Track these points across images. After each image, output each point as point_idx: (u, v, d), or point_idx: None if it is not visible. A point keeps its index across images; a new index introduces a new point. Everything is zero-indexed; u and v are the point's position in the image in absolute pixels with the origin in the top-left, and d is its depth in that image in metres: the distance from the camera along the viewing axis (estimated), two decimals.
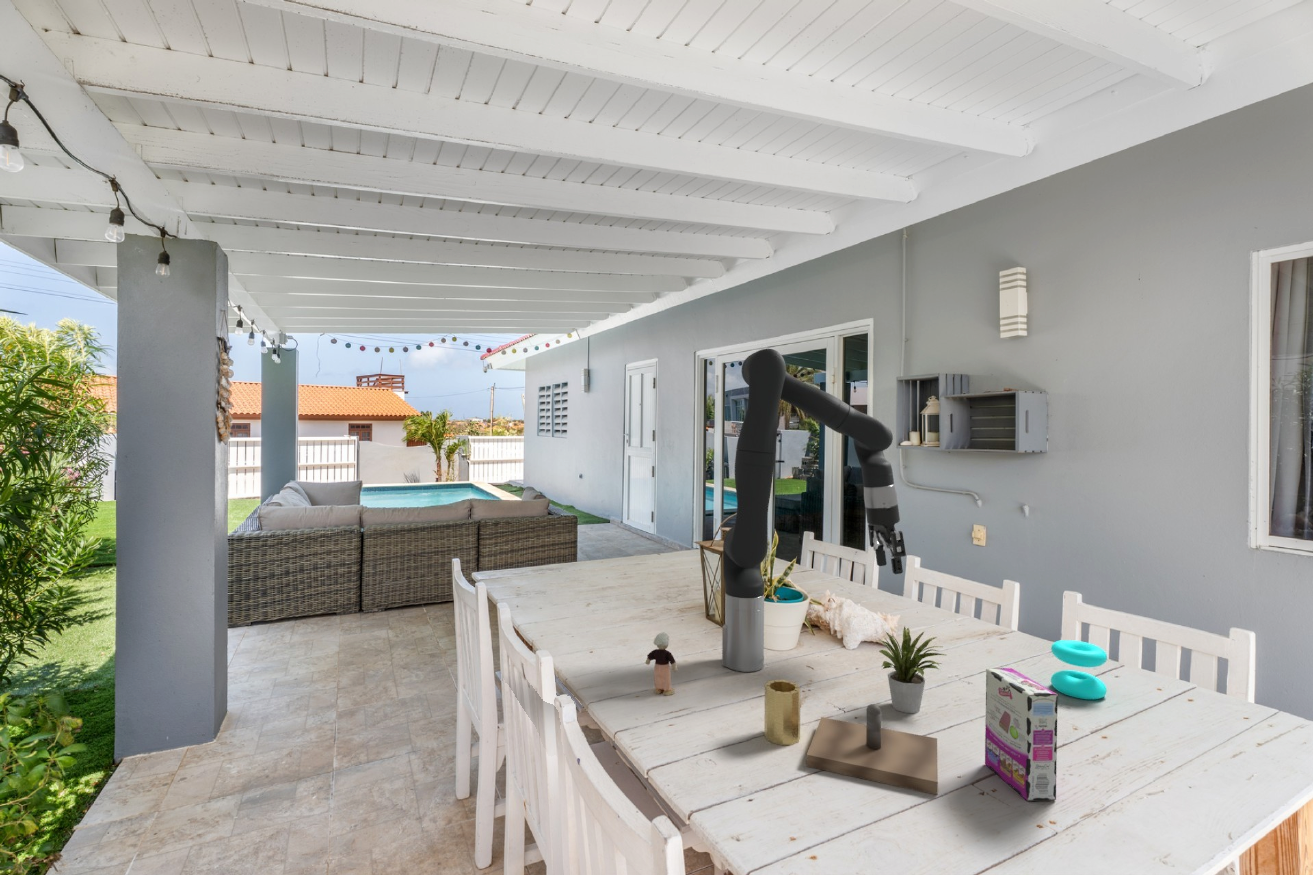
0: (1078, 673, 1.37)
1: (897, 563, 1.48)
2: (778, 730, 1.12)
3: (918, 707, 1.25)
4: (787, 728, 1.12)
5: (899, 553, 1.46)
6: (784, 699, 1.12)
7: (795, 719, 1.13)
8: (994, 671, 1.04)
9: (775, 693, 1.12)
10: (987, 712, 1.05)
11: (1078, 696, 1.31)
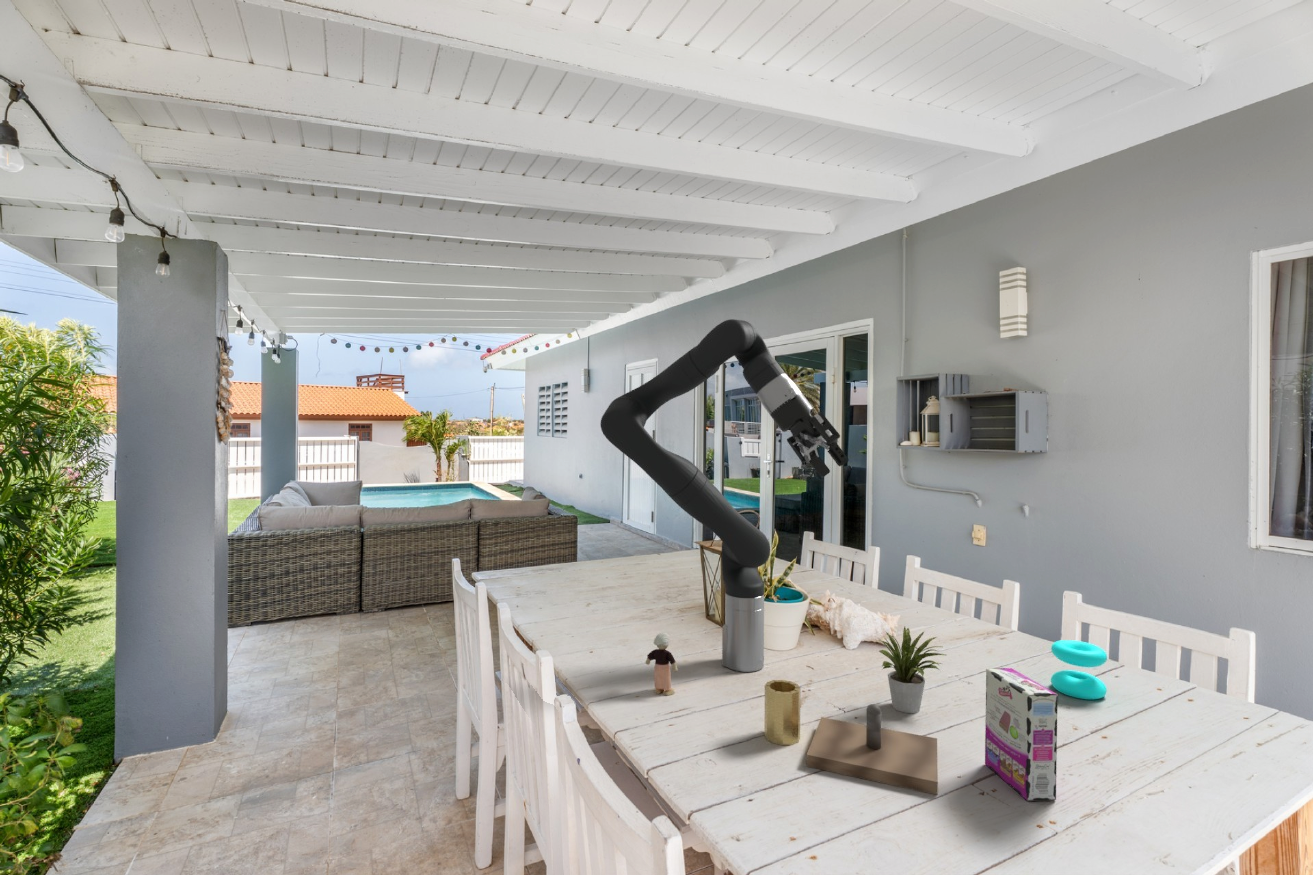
0: (1078, 673, 1.37)
1: (837, 451, 1.16)
2: (778, 730, 1.12)
3: (918, 707, 1.25)
4: (787, 728, 1.12)
5: (831, 436, 1.15)
6: (784, 699, 1.12)
7: (795, 719, 1.13)
8: (994, 671, 1.04)
9: (775, 693, 1.12)
10: (987, 712, 1.05)
11: (1078, 696, 1.31)
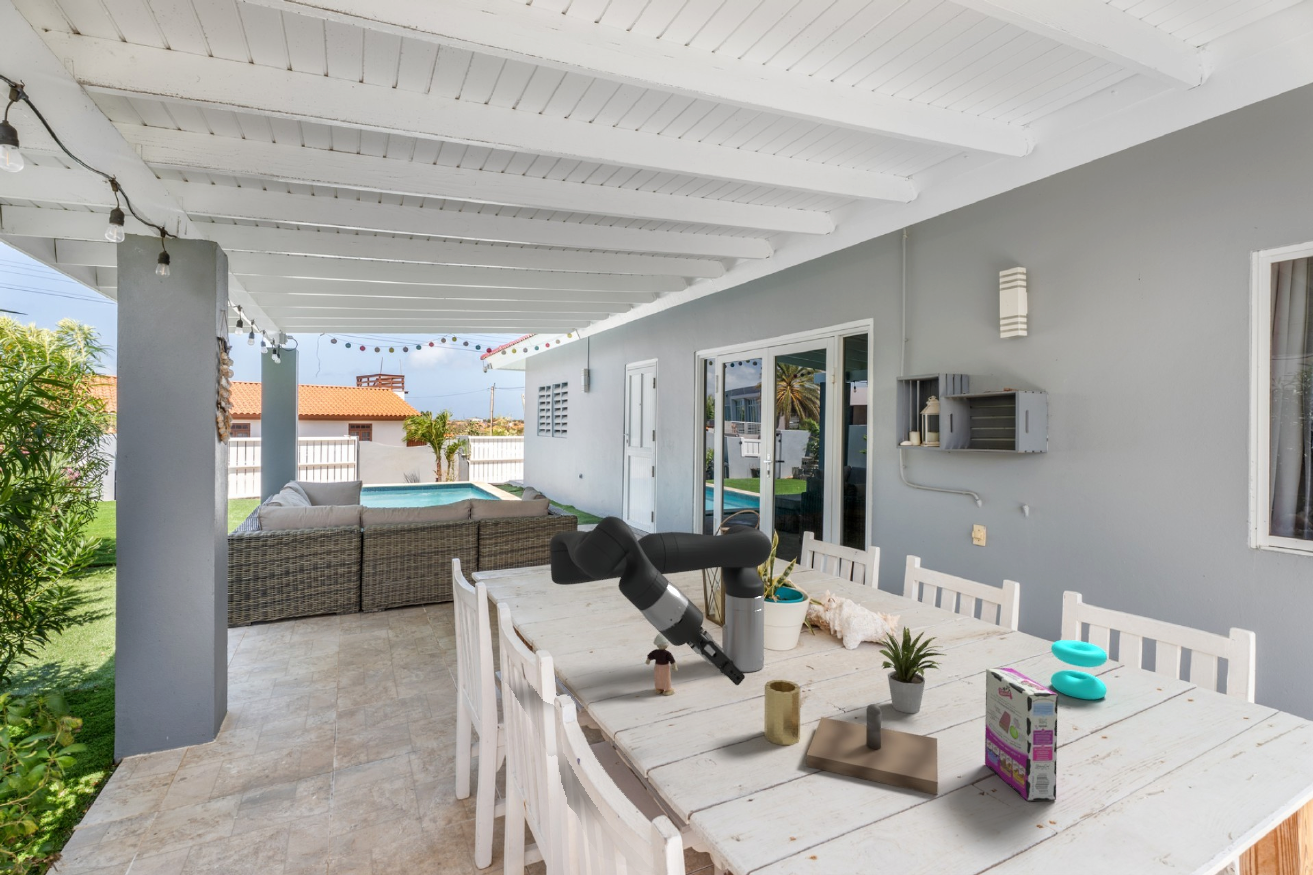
0: (1078, 673, 1.37)
1: (732, 674, 1.06)
2: (778, 730, 1.12)
3: (918, 707, 1.25)
4: (787, 728, 1.12)
5: (725, 667, 1.04)
6: (784, 699, 1.12)
7: (795, 719, 1.13)
8: (994, 671, 1.04)
9: (775, 693, 1.12)
10: (987, 712, 1.05)
11: (1078, 696, 1.31)
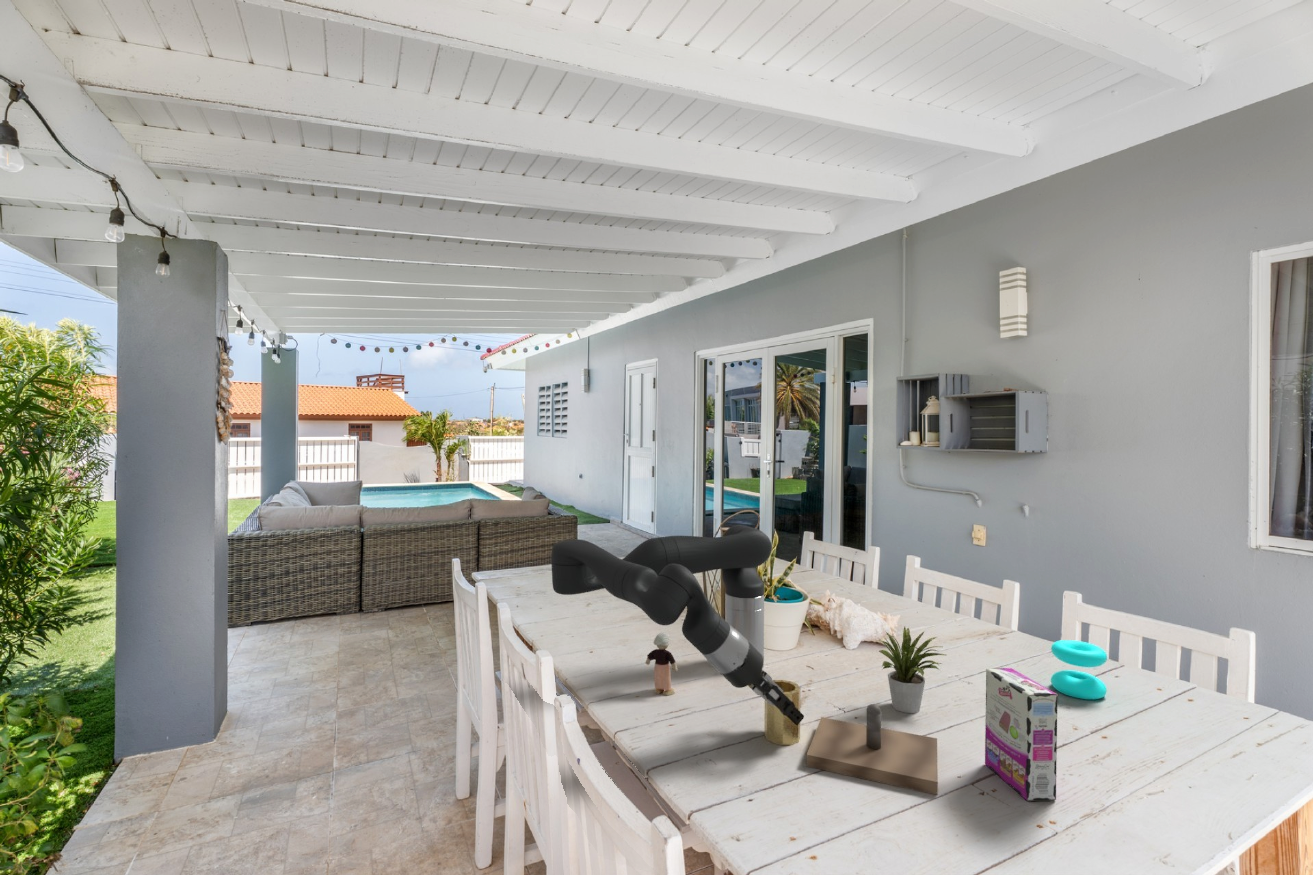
0: (1078, 673, 1.37)
1: (792, 714, 1.11)
2: (778, 730, 1.12)
3: (918, 707, 1.25)
4: (787, 728, 1.12)
5: (787, 709, 1.09)
6: None
7: None
8: (994, 671, 1.04)
9: None
10: (987, 712, 1.05)
11: (1078, 696, 1.31)
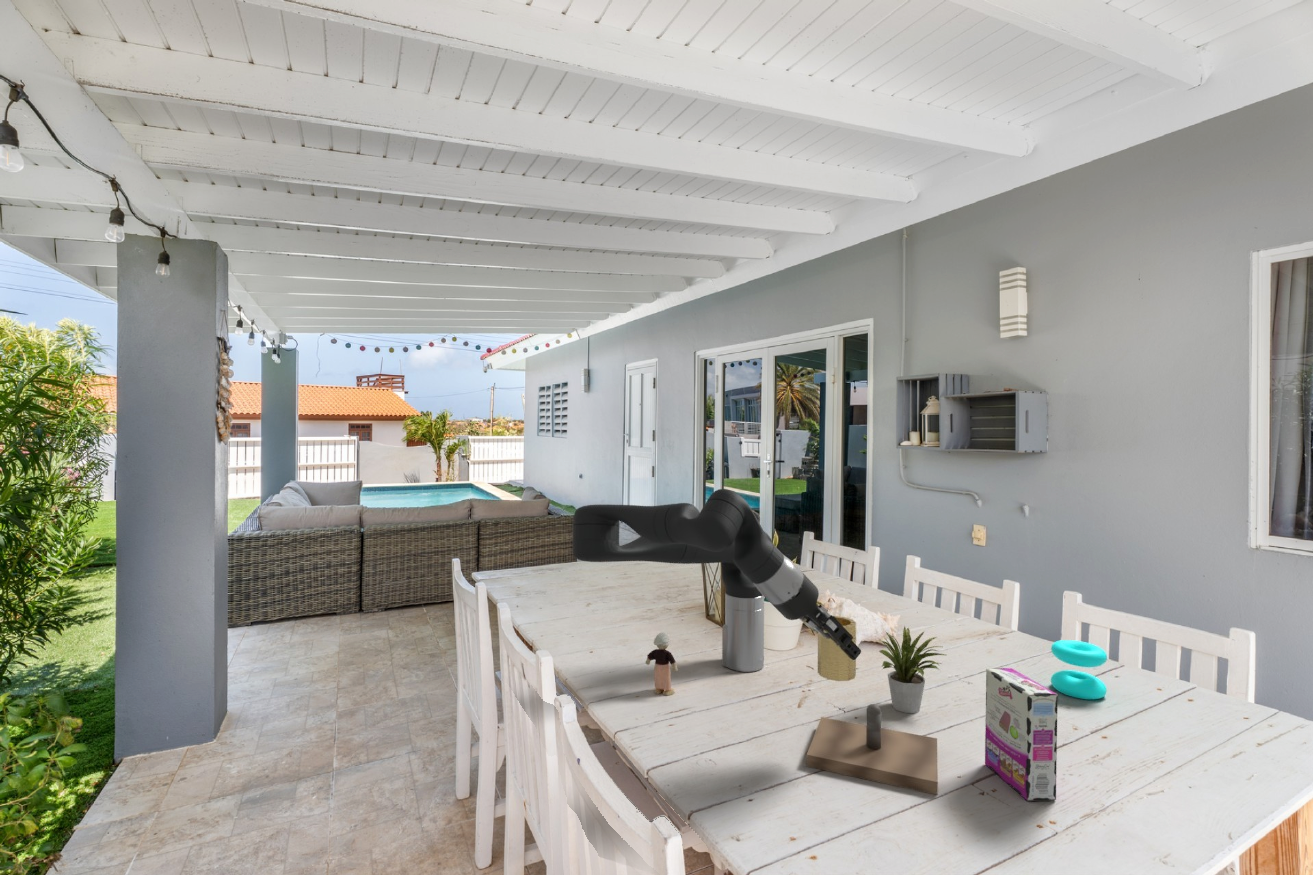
0: (1078, 673, 1.37)
1: (849, 648, 1.05)
2: (833, 665, 1.07)
3: (918, 707, 1.25)
4: (843, 663, 1.06)
5: (845, 641, 1.03)
6: None
7: None
8: (994, 671, 1.04)
9: None
10: (987, 712, 1.05)
11: (1078, 696, 1.31)
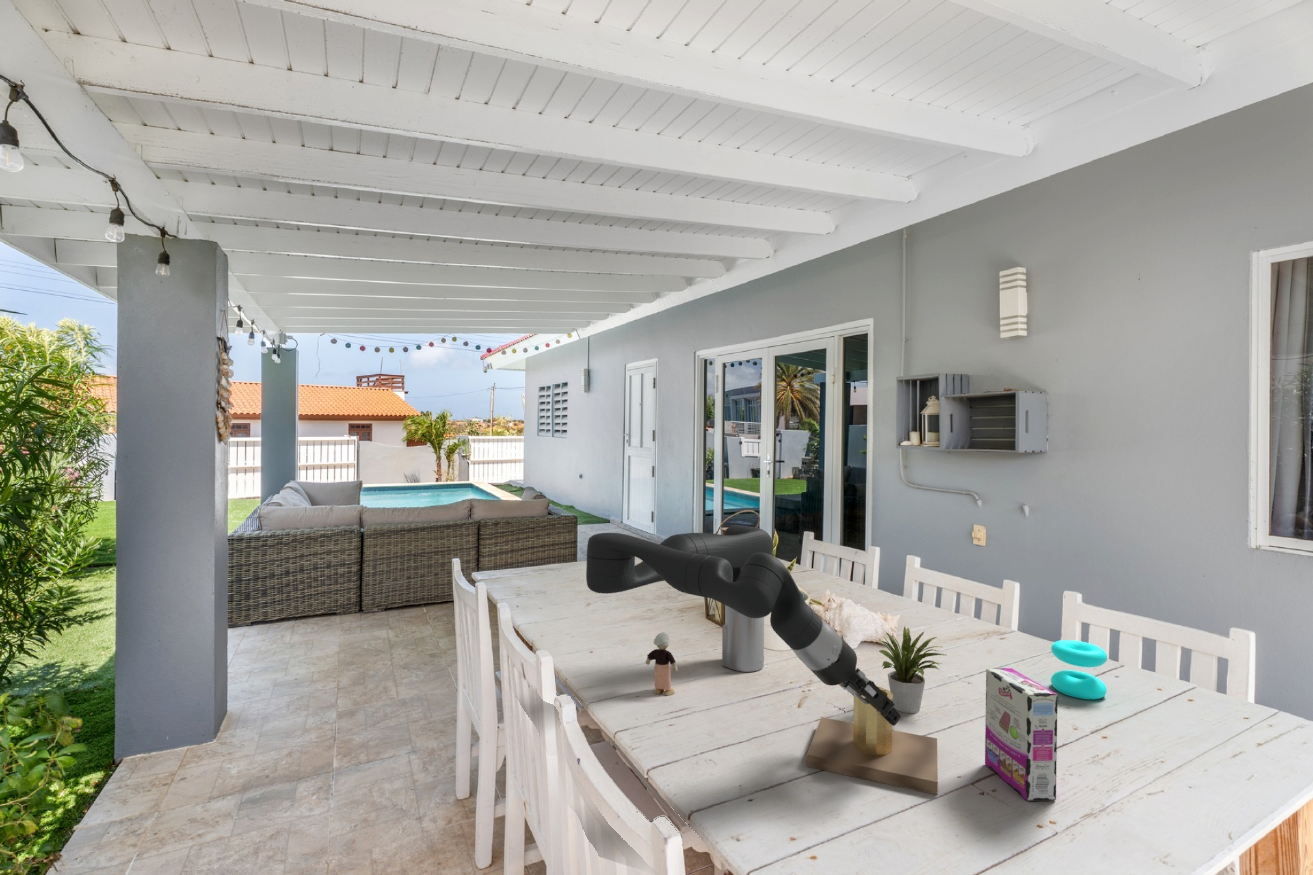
0: (1078, 673, 1.37)
1: (890, 714, 1.02)
2: (871, 739, 1.05)
3: (918, 707, 1.25)
4: (881, 737, 1.05)
5: (886, 708, 1.00)
6: None
7: (889, 728, 1.05)
8: (994, 671, 1.04)
9: None
10: (987, 712, 1.05)
11: (1078, 696, 1.31)
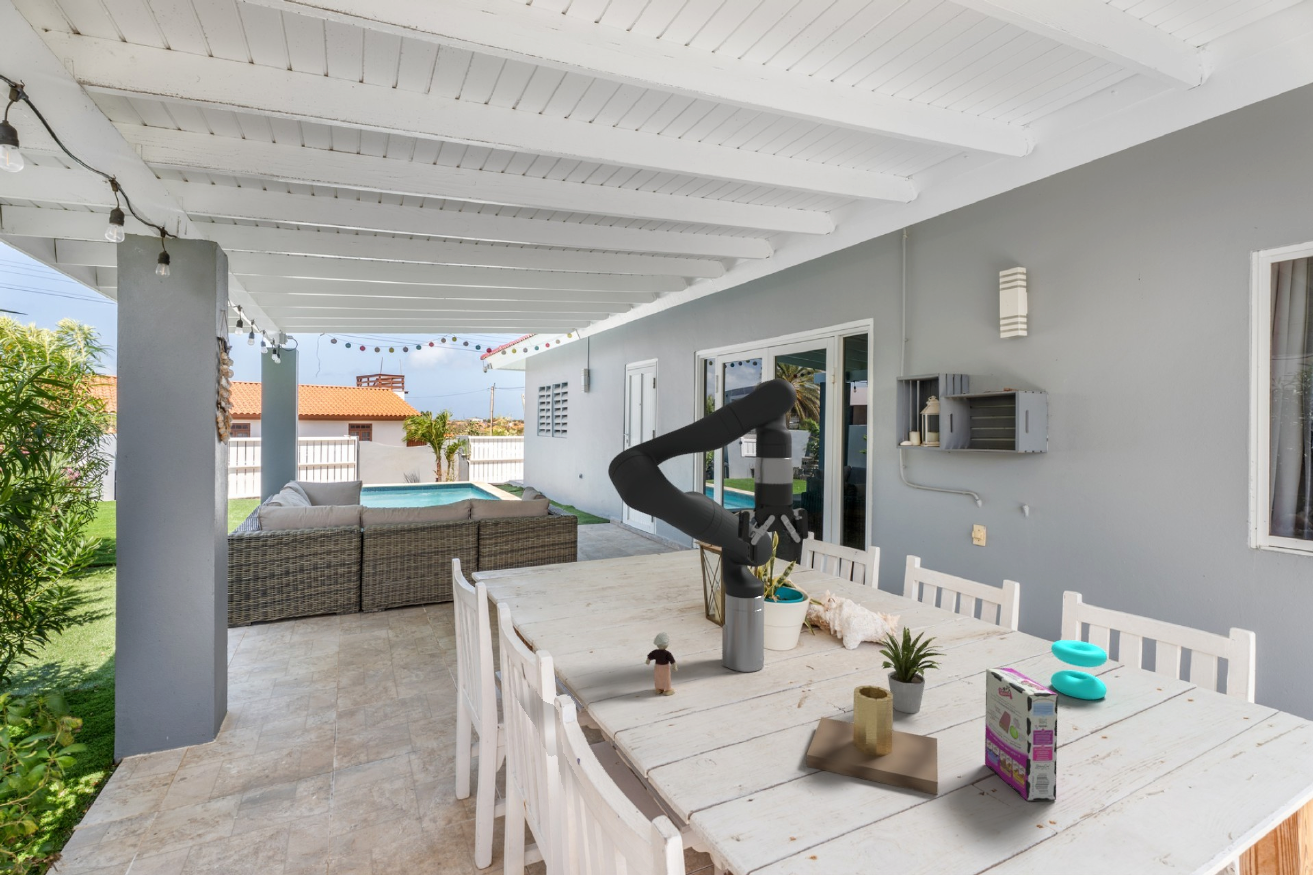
0: (1078, 673, 1.37)
1: None
2: (871, 739, 1.05)
3: (918, 707, 1.25)
4: (881, 737, 1.05)
5: None
6: (878, 707, 1.05)
7: (889, 728, 1.05)
8: (994, 671, 1.04)
9: (868, 700, 1.05)
10: (987, 712, 1.05)
11: (1078, 696, 1.31)
